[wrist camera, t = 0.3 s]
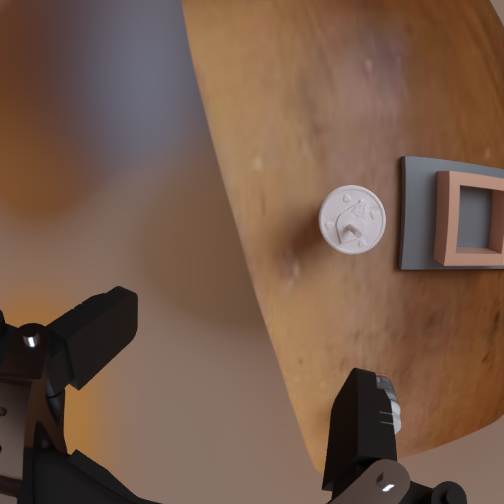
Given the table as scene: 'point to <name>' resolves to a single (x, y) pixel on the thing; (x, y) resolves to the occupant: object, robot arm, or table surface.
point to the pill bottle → (386, 384)
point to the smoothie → (351, 219)
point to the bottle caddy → (451, 215)
